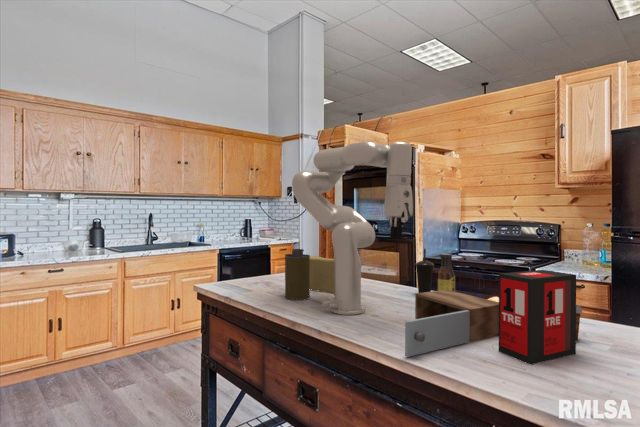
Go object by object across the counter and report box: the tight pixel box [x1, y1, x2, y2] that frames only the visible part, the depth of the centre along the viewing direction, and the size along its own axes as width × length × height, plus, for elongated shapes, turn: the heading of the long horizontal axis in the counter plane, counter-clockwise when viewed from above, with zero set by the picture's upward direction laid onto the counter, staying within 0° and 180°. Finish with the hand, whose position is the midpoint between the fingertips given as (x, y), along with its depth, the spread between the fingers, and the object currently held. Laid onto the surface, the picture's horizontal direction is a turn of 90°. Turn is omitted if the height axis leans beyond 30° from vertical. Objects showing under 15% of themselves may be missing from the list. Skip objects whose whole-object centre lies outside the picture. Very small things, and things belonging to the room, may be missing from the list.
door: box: [404, 310, 470, 358], centre depth 96 cm, size 3×22×8 cm, turn 119°
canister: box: [284, 248, 311, 301], centre depth 155 cm, size 11×10×20 cm
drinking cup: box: [415, 248, 435, 293], centre depth 159 cm, size 8×8×20 cm
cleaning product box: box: [498, 269, 577, 365], centre depth 95 cm, size 16×9×20 cm, turn 114°
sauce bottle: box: [437, 253, 456, 292], centre depth 141 cm, size 7×6×20 cm
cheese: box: [309, 255, 335, 294], centre depth 168 cm, size 22×10×15 cm, turn 47°
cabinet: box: [414, 290, 499, 343], centre depth 115 cm, size 14×22×9 cm, turn 27°
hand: (396, 239), depth 120 cm, fingers closed
